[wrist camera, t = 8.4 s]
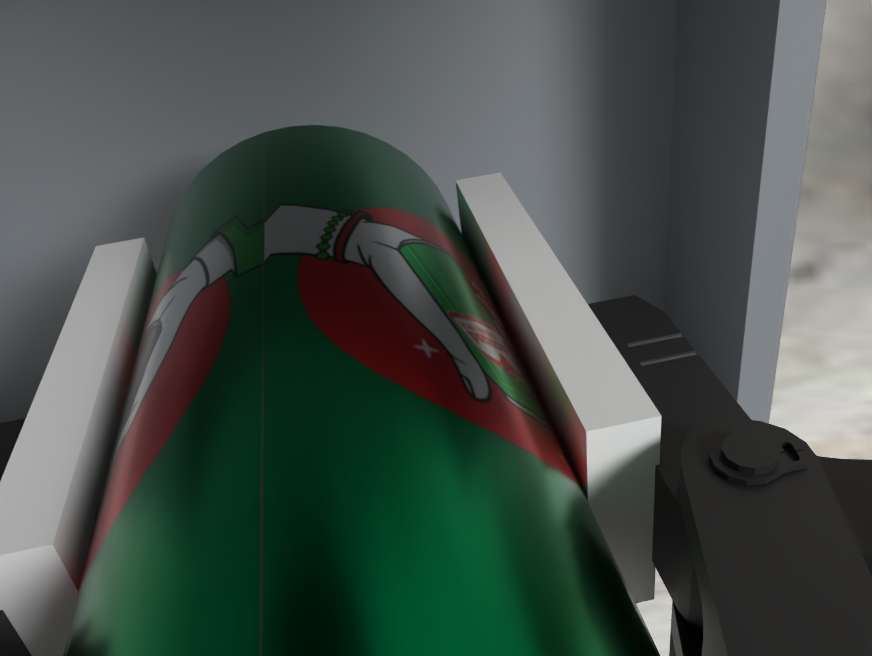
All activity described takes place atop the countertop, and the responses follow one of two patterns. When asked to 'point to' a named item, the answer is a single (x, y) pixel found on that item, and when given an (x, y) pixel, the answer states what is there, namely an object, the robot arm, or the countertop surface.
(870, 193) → the countertop surface
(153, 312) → the soda can
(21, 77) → the bin
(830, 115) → the countertop surface
